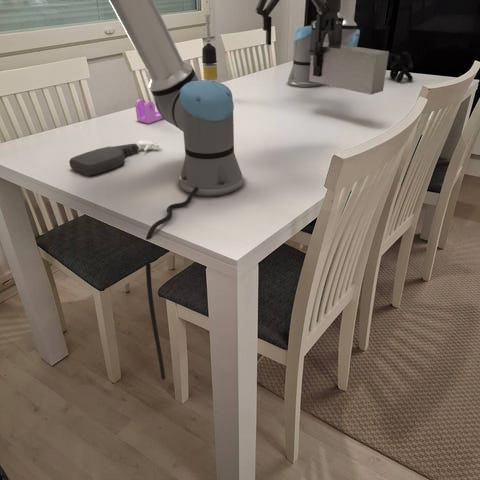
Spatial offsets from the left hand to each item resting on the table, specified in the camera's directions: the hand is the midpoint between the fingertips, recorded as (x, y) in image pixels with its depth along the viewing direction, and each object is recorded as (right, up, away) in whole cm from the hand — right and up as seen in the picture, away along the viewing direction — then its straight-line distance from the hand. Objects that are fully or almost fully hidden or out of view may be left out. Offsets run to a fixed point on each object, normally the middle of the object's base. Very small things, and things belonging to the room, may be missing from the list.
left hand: (293, 43), depth 119 cm
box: (+21, -1, +30) cm, 37 cm away
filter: (-26, +4, +60) cm, 66 cm away
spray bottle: (-49, -30, +6) cm, 57 cm away
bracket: (-44, -9, +39) cm, 60 cm away
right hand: (+15, +5, +35) cm, 38 cm away
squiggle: (+58, +19, +82) cm, 102 cm away
